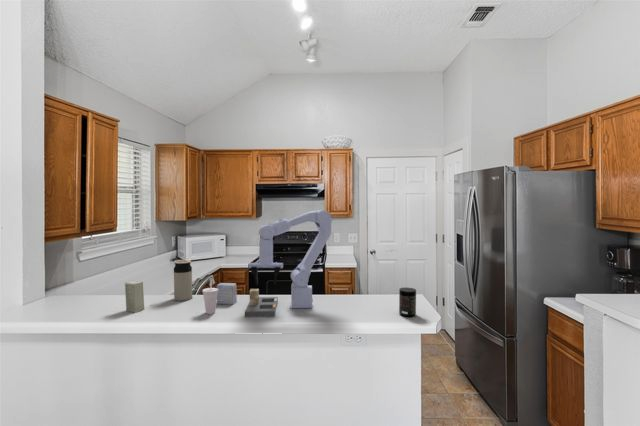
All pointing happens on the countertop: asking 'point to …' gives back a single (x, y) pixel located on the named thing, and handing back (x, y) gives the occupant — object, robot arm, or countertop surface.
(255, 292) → the tan rectangular block
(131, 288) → the skincare box
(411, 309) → the supplement container
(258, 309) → the dock
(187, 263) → the travel mug
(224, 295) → the medicine box
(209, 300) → the smoothie
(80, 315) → the countertop surface
